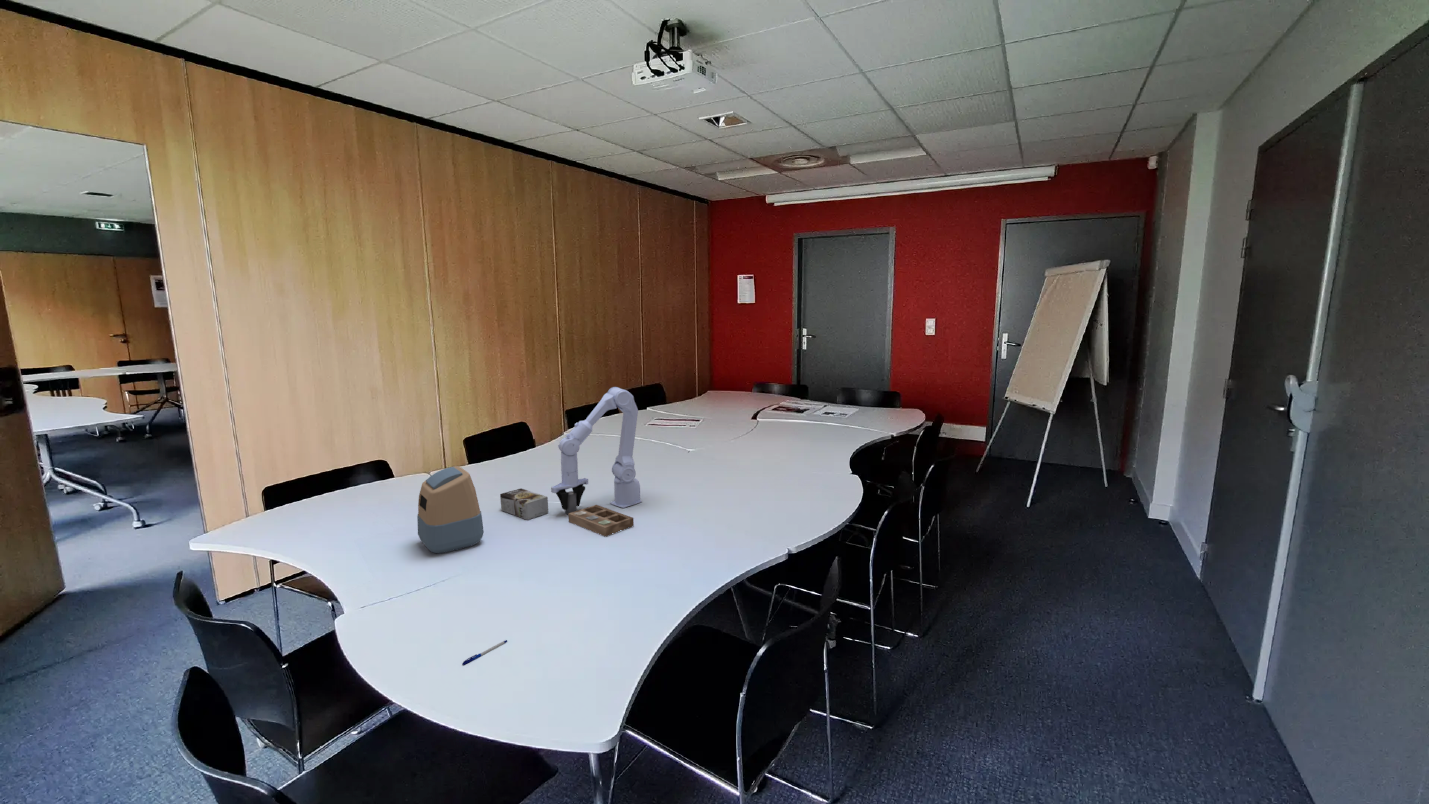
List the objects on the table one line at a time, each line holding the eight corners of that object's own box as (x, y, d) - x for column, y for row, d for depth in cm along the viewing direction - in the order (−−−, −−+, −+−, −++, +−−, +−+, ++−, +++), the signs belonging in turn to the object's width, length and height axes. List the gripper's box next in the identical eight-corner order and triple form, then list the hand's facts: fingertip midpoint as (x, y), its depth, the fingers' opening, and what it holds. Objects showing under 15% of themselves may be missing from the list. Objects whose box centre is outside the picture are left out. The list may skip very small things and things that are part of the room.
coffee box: (526, 502, 197) (499, 493, 207) (527, 520, 198) (500, 510, 208) (548, 495, 204) (521, 487, 214) (548, 513, 205) (522, 503, 215)
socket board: (596, 512, 206) (596, 503, 206) (633, 526, 193) (633, 516, 193) (568, 521, 197) (568, 512, 197) (605, 536, 184) (605, 526, 184)
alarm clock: (415, 541, 180) (410, 470, 176) (470, 529, 190) (466, 461, 187) (429, 559, 167) (423, 483, 163) (488, 544, 178) (483, 472, 174)
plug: (572, 509, 209) (571, 489, 208) (579, 512, 206) (578, 492, 205) (563, 512, 206) (562, 492, 205) (569, 515, 203) (569, 494, 202)
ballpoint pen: (464, 667, 117) (464, 662, 117) (461, 665, 118) (461, 661, 117) (507, 642, 126) (507, 638, 126) (505, 641, 126) (505, 637, 126)
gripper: (579, 464, 212) (580, 500, 214) (545, 473, 201) (547, 510, 203) (591, 468, 207) (592, 504, 209) (557, 477, 196) (558, 514, 198)
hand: (570, 507), depth 206 cm, fingers open, 5 cm apart
